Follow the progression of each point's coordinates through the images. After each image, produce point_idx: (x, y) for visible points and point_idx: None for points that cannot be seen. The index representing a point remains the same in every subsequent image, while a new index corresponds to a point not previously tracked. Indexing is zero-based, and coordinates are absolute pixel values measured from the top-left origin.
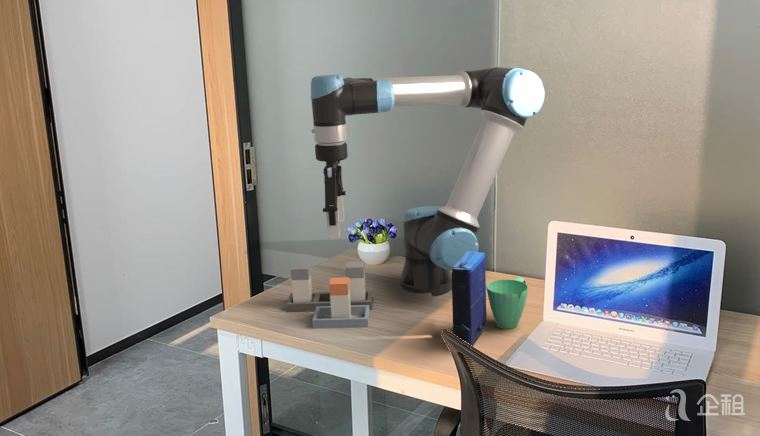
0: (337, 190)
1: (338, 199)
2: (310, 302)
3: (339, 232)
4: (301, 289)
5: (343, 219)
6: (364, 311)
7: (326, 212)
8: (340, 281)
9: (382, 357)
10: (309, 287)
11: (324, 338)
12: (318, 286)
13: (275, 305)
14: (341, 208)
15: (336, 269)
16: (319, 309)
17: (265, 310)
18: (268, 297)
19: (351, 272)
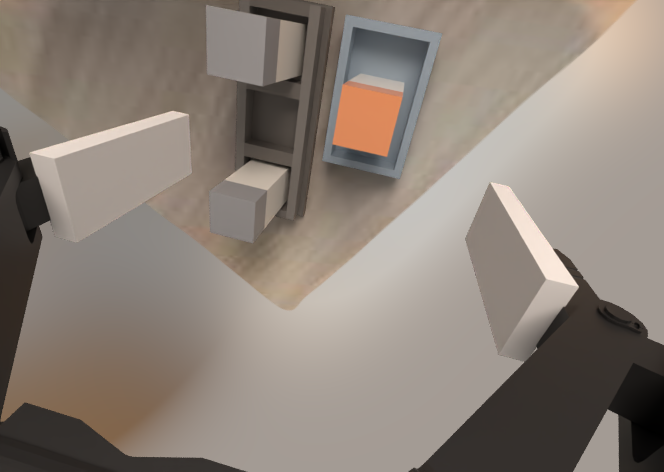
0: (14, 229)
1: (82, 186)
2: (293, 171)
3: (506, 196)
4: (274, 198)
5: (179, 120)
6: (353, 33)
7: (523, 354)
8: (373, 118)
9: (621, 14)
10: (270, 181)
11: (441, 149)
12: None
13: None
14: (133, 146)
15: (45, 74)
16: (331, 154)
17: (271, 244)
18: (210, 234)
19: (270, 65)
